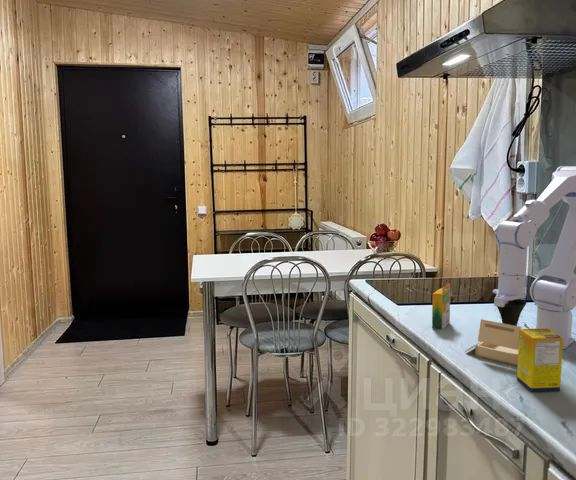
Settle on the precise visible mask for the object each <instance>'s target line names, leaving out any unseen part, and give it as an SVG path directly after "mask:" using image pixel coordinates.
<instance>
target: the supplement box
mask: <svg viewBox="0 0 576 480" xmlns="http://www.w3.org/2000/svg"><path fill="white" fill-rule="evenodd" d="M562 346H563V337H562V336H560V335H558V334H557V333H555V332H553V331H551V330H550V329H548V328H540V329H536V328H521V329H519V344H518V366H516V367H517V368H516V369H517V371H516V372H517V373H516V380H517V382H519V383H520V384H521V385H523V387H525V388H526V389H527V390H528V391H529V392H533V393H534V392H557V391H558V392H559V391H561V381H562V379H561V378H562V363H563V361H562V360H563V349H562Z"/></svg>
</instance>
